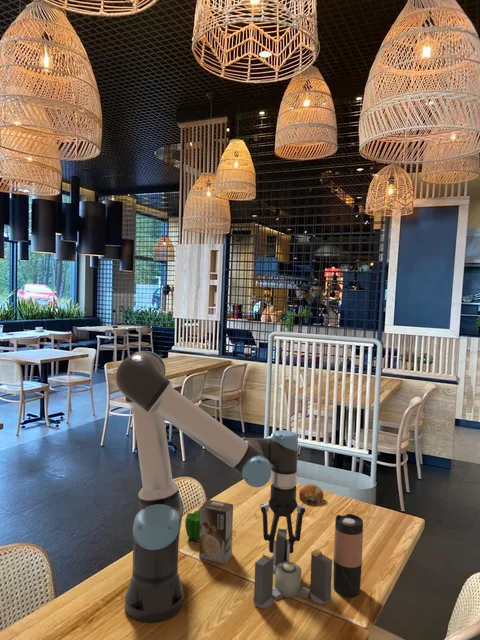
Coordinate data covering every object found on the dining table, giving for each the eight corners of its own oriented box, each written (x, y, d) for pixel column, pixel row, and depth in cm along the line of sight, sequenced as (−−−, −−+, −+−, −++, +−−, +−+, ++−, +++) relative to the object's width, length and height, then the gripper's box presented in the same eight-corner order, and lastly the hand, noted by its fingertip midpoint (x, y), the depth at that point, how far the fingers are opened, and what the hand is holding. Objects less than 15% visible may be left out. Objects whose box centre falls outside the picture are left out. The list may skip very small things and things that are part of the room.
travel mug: (355, 602, 118) (358, 529, 118) (328, 592, 122) (331, 521, 122) (364, 588, 125) (366, 518, 124) (337, 578, 129) (340, 510, 128)
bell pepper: (194, 547, 143) (195, 516, 143) (180, 537, 149) (181, 507, 149) (215, 539, 149) (216, 509, 148) (200, 529, 155) (201, 501, 154)
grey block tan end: (288, 576, 128) (289, 536, 128) (270, 573, 130) (271, 533, 129) (290, 566, 133) (291, 527, 133) (273, 563, 135) (274, 525, 134)
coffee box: (232, 554, 140) (234, 503, 139) (225, 564, 134) (227, 512, 133) (206, 547, 143) (207, 498, 143) (197, 558, 137) (199, 506, 137)
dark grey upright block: (265, 611, 113) (267, 565, 113) (249, 602, 116) (250, 558, 116) (276, 600, 118) (278, 556, 117) (260, 592, 121) (261, 549, 120)
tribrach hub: (274, 605, 116) (274, 580, 116) (259, 580, 127) (260, 557, 126) (313, 598, 120) (314, 573, 119) (296, 574, 130) (297, 551, 130)
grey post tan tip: (334, 599, 119) (335, 556, 118) (320, 607, 116) (322, 562, 115) (319, 589, 123) (320, 547, 123) (306, 596, 120) (307, 553, 119)
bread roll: (324, 508, 182) (328, 488, 185) (316, 506, 174) (320, 485, 177) (302, 502, 188) (306, 483, 190) (293, 499, 180) (297, 479, 182)
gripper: (308, 480, 135) (305, 556, 135) (255, 478, 134) (252, 555, 135) (313, 490, 127) (310, 570, 128) (256, 488, 127) (253, 569, 127)
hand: (280, 562), depth 131 cm, fingers closed on grey block tan end, 3 cm apart
